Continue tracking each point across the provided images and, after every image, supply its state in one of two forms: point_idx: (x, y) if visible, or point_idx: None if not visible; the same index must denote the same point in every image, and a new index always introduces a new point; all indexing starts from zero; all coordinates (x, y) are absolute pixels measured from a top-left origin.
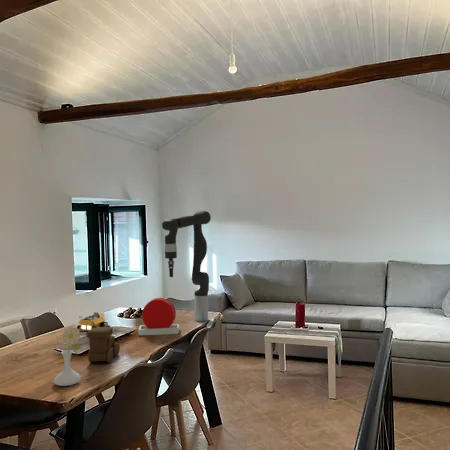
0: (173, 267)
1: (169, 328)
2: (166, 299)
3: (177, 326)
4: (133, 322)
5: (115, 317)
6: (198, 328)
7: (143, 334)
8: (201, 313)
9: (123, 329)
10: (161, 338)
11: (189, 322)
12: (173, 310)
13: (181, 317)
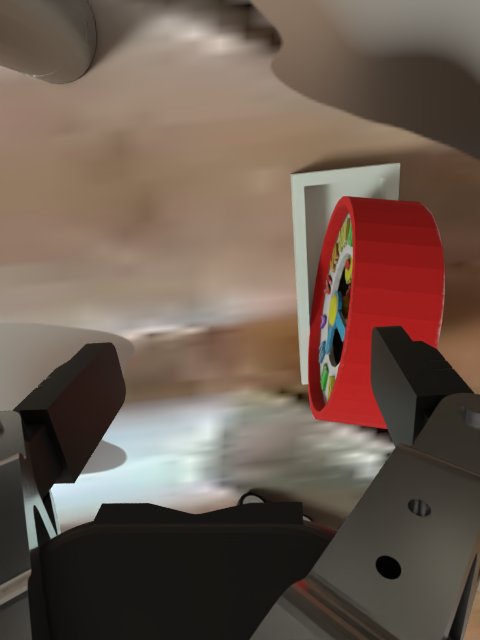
0: (454, 463)
1: None
2: (355, 298)
3: (357, 177)
4: (139, 412)
5: (57, 486)
6: (279, 35)
7: None
8: (67, 4)
9: (263, 435)
10: (466, 254)
11: (123, 118)
12: (418, 212)
13: (6, 184)
